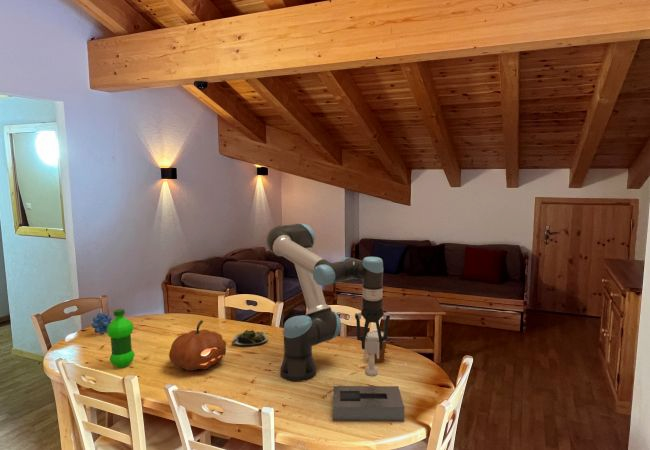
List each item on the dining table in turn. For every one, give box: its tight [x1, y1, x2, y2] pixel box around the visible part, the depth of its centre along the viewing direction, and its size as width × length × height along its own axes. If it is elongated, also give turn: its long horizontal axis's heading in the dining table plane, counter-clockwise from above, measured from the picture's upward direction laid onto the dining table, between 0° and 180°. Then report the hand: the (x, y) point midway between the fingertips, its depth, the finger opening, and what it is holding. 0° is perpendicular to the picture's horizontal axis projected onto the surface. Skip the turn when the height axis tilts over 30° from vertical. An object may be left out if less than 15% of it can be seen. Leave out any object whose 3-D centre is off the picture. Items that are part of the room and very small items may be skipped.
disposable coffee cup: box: [366, 330, 387, 364], centre depth 186 cm, size 10×10×12 cm
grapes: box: [91, 312, 113, 335], centre depth 221 cm, size 12×7×12 cm, turn 155°
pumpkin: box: [168, 319, 227, 371], centre depth 184 cm, size 25×25×19 cm
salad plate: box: [231, 329, 268, 348], centre depth 212 cm, size 19×18×5 cm
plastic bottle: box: [106, 308, 135, 369], centre depth 183 cm, size 10×10×25 cm
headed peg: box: [364, 337, 379, 378], centre depth 160 cm, size 5×5×14 cm
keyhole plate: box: [332, 385, 405, 422], centre depth 147 cm, size 24×14×5 cm, turn 88°
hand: (371, 356), depth 160 cm, fingers closed on headed peg, 4 cm apart
